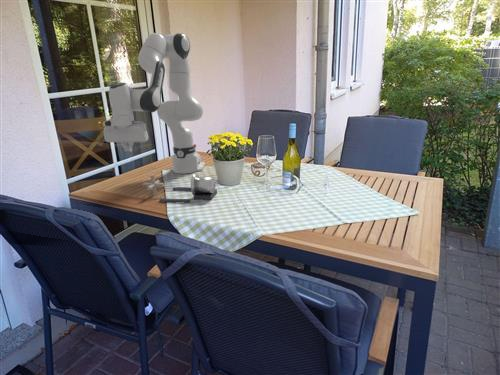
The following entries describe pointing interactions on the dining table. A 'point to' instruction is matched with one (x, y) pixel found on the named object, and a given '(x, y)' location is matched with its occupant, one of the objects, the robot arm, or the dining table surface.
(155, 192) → the pipe connector
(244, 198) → the dining table surface
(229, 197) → the dining table surface
